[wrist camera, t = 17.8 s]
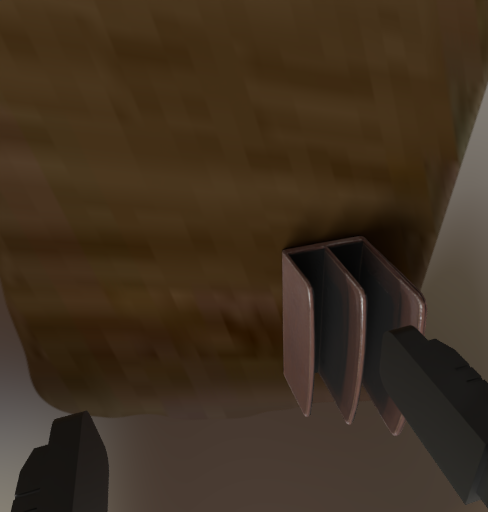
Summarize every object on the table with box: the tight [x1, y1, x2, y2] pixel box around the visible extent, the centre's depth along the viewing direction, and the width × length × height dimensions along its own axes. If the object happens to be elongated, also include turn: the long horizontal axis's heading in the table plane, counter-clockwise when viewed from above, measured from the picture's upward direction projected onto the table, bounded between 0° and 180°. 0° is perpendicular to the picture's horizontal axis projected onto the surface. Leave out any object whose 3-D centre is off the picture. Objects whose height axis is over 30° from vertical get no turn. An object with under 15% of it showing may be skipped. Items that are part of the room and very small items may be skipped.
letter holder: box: [282, 236, 427, 436], centre depth 46 cm, size 10×20×14 cm, turn 3°
